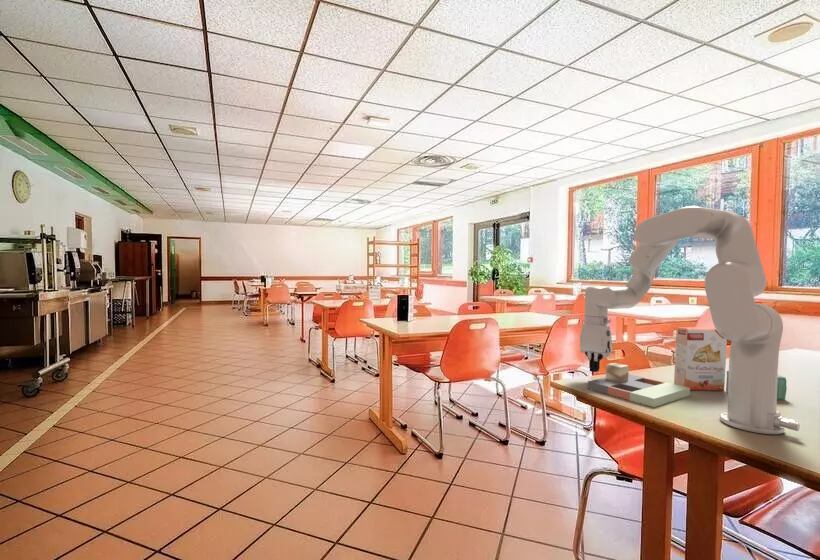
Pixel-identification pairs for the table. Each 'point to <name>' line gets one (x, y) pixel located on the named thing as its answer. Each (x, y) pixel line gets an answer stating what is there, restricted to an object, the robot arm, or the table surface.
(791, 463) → the table surface
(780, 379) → the box
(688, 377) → the cracker box
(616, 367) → the block
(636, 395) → the platform
